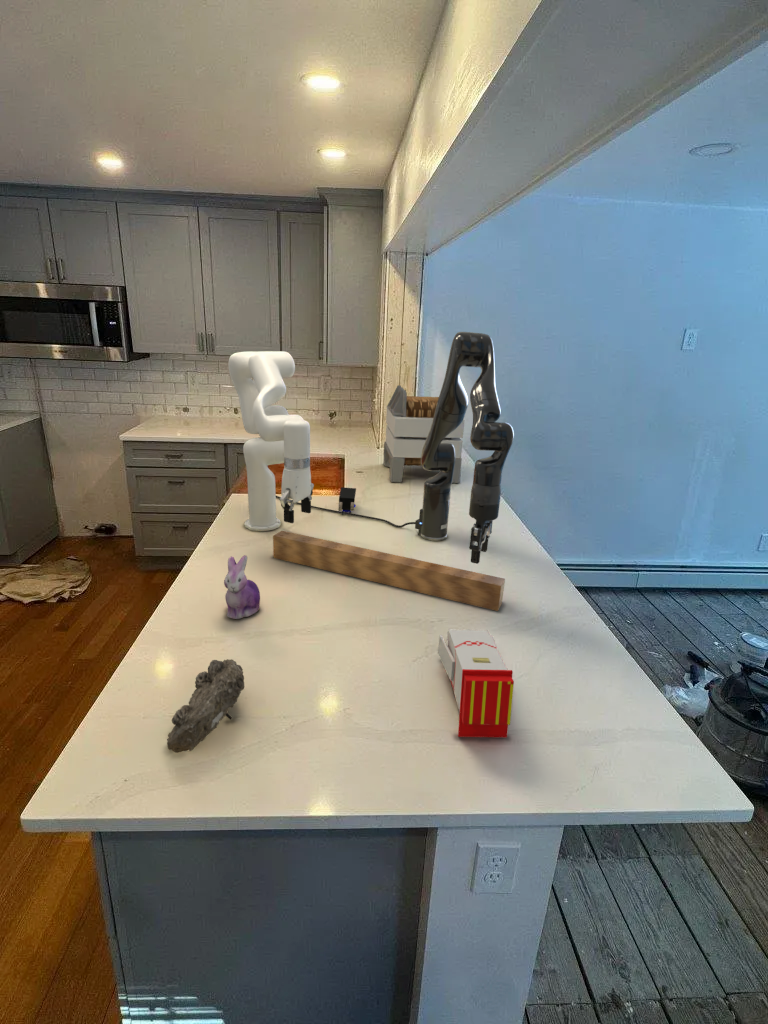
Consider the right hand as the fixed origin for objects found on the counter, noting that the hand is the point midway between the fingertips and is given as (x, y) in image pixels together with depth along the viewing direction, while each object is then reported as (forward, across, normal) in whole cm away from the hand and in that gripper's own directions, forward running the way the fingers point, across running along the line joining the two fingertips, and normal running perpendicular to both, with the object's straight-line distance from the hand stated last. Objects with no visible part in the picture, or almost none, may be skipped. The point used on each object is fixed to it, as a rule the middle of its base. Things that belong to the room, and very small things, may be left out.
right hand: (478, 556), depth 151 cm
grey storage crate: (+13, -113, -57) cm, 128 cm away
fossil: (+13, +69, -33) cm, 77 cm away
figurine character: (+13, -48, -63) cm, 80 cm away
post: (+13, 0, -28) cm, 31 cm away
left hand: (-1, 0, -56) cm, 56 cm away
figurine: (+13, +34, -52) cm, 63 cm away
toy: (+14, +39, +9) cm, 42 cm away
